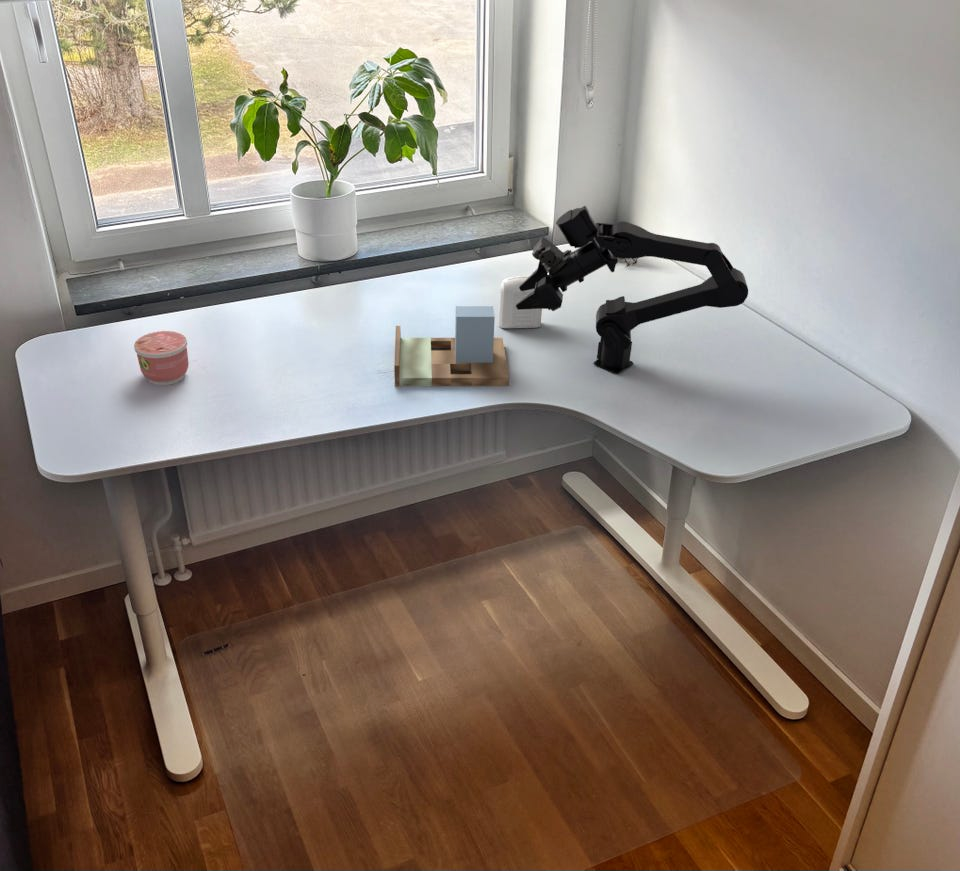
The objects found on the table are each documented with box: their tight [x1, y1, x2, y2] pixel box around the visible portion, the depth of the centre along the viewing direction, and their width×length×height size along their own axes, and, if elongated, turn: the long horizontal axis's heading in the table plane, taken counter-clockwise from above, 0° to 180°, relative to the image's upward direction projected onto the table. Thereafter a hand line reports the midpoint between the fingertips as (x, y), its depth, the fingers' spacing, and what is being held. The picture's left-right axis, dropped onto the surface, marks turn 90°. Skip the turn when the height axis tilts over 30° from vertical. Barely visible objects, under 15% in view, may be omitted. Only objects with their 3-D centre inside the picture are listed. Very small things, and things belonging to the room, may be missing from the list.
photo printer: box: [497, 275, 543, 329], centre depth 222 cm, size 10×4×12 cm, turn 98°
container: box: [133, 330, 190, 386], centre depth 199 cm, size 10×10×8 cm
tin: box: [454, 305, 496, 363], centre depth 204 cm, size 8×5×11 cm, turn 93°
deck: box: [393, 325, 510, 387], centre depth 207 cm, size 24×18×5 cm
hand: (518, 298), depth 204 cm, fingers open, 9 cm apart
